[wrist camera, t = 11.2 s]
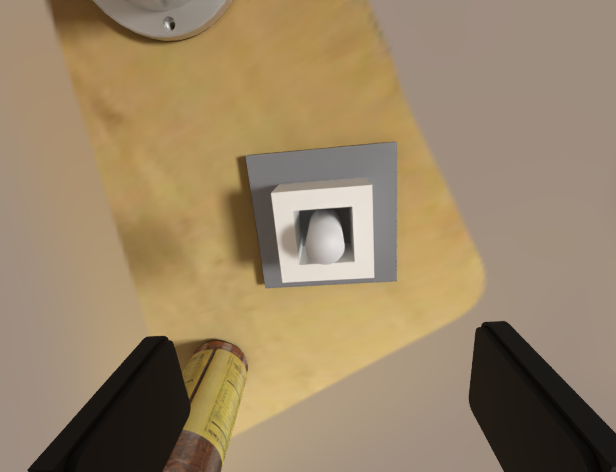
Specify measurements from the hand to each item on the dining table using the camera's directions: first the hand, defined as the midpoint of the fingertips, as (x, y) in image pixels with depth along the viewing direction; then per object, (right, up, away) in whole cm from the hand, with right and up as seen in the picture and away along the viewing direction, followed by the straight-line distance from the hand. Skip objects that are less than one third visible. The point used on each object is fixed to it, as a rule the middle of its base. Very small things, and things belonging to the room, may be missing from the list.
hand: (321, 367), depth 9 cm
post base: (+1, +6, +17) cm, 18 cm away
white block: (+1, +5, +16) cm, 17 cm away
